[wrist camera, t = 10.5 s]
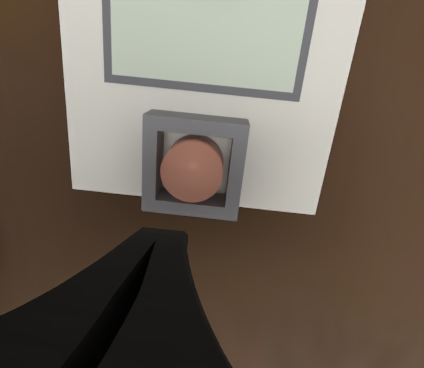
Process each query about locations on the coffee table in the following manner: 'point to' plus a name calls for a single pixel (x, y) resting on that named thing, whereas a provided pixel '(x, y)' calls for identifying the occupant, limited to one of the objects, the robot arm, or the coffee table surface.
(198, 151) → the button
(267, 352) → the coffee table surface
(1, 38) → the coffee table surface
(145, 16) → the activity board
